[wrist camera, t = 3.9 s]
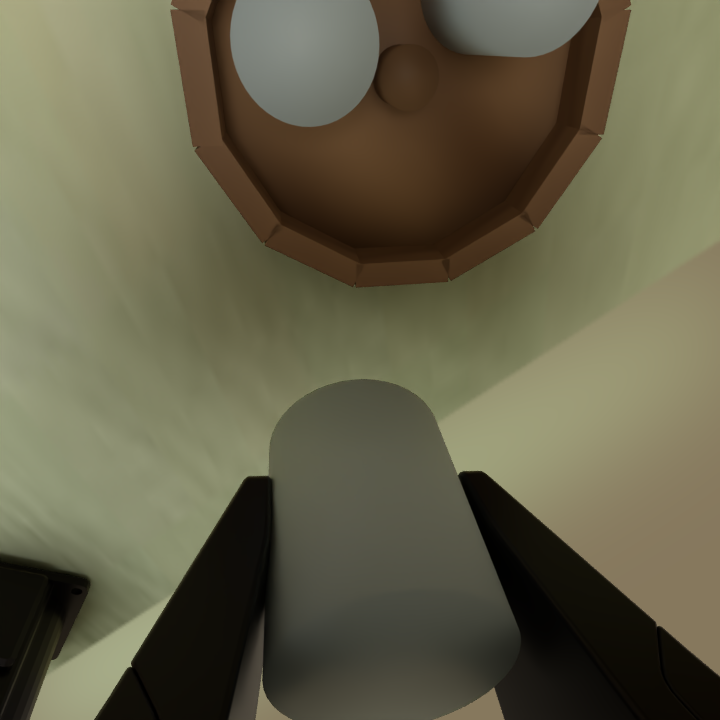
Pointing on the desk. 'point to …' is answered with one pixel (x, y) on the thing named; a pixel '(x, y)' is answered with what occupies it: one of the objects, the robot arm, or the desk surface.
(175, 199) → the desk surface
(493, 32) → the seated bead
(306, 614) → the bead loose
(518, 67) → the walnut tray
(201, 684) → the robot arm
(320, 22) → the seated bead
